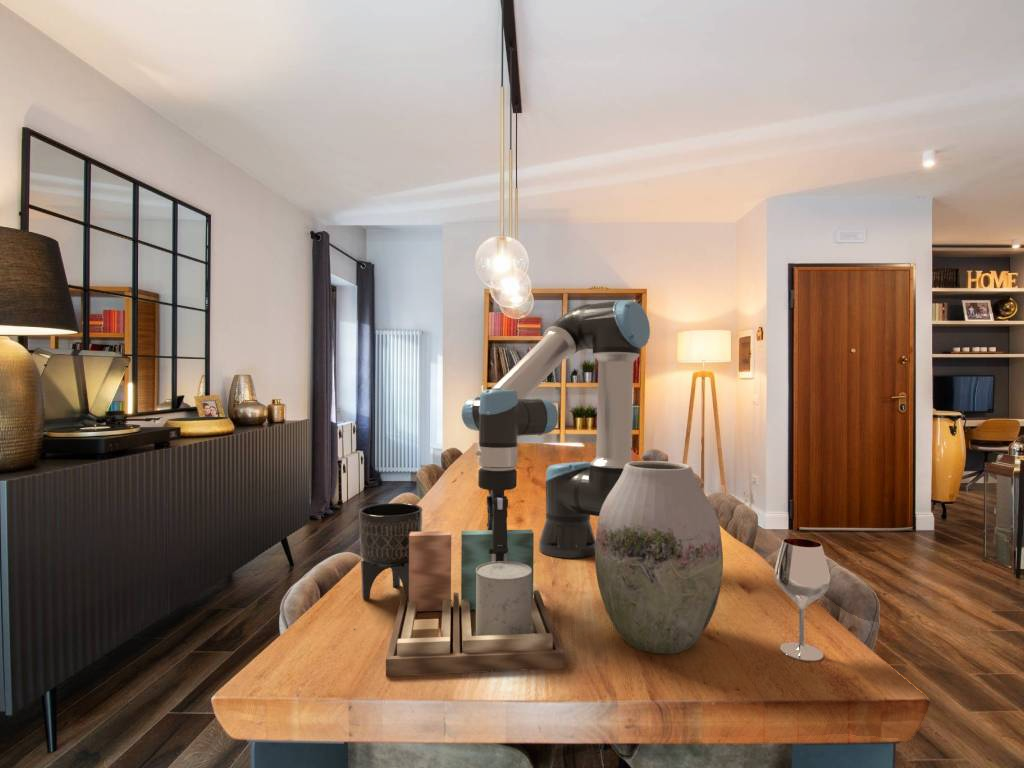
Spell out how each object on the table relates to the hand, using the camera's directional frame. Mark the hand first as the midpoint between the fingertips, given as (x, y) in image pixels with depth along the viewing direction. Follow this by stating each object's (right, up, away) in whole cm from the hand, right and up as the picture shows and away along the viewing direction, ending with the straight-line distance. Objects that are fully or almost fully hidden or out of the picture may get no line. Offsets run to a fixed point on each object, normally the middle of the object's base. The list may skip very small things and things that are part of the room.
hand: (496, 576), depth 113 cm
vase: (+28, -6, -14) cm, 32 cm away
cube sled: (-12, -6, -12) cm, 18 cm away
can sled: (+1, -6, -11) cm, 13 cm away
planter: (-22, -6, +7) cm, 24 cm away
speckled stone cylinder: (+2, -6, -15) cm, 17 cm away
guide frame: (-4, -6, -12) cm, 14 cm away
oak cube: (-11, -6, -18) cm, 22 cm away
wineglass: (+51, -7, -18) cm, 54 cm away
